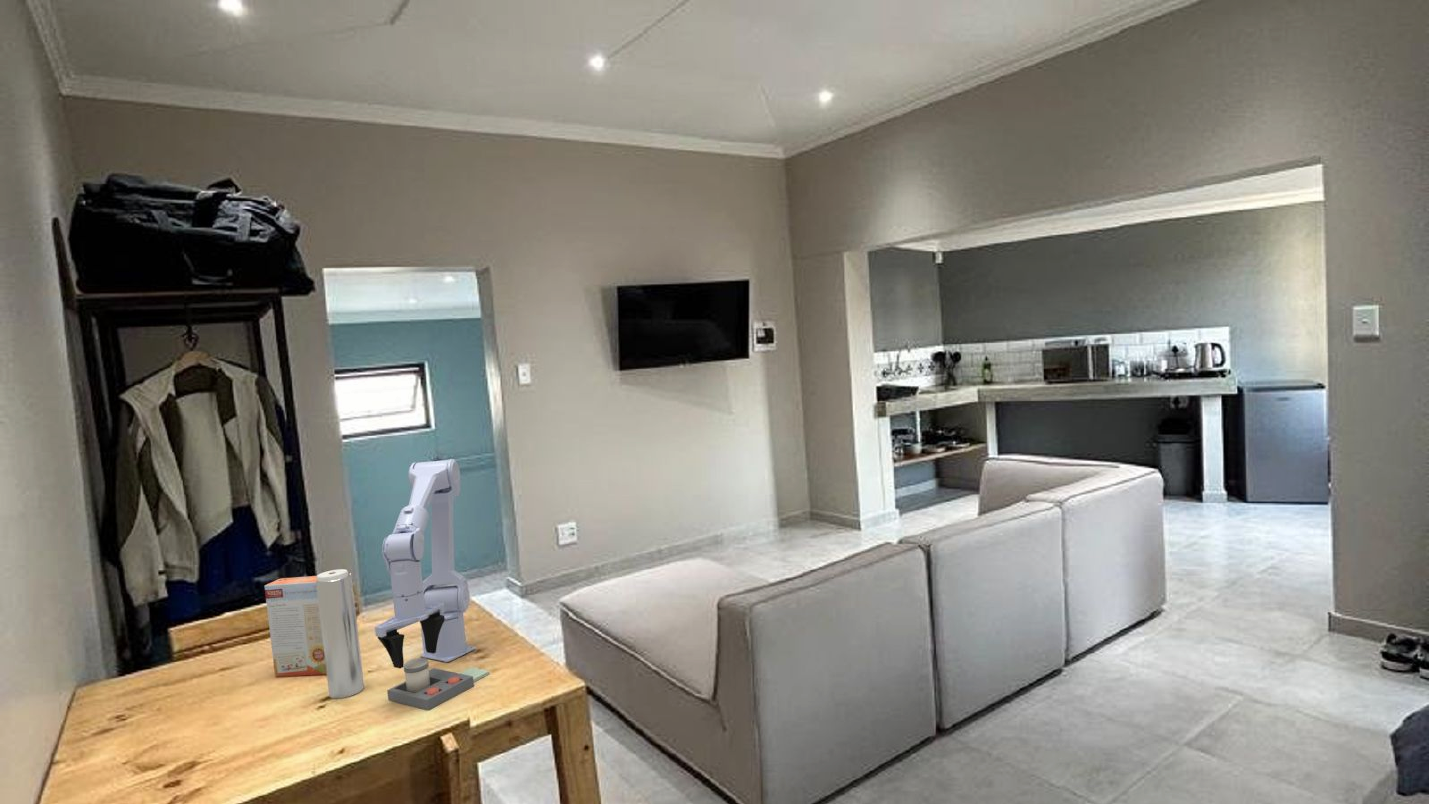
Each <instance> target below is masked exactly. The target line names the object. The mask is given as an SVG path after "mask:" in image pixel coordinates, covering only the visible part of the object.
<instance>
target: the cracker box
mask: <svg viewBox="0 0 1429 804" xmlns="http://www.w3.org/2000/svg"><path fill="white" fill-rule="evenodd" d="M316 581H317V575H312V576H311V575H310V576H297V577H296V576H295V577H284V578H283V577H281V578H278V579H276V580H274V581H272V582H269V583H267V584H265V585H264V586H263V587H264V593H265V594H264V595H265V602H266V603H265V604H266V610H267V618H268V627H269V635H270V637H269V638H270V642H271V652H272V659H273V668H274V676H275V677H276V678H279V677H281V678H283V677H298V676H314V675H317V676H319V675H320V676H321V675H327V672H326V664H325V655H324V647H323V638H322V630H321V621H320V612H319V604H318V595H317V587H316Z"/></svg>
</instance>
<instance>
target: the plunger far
mask: <svg viewBox="0 0 1429 804" xmlns="http://www.w3.org/2000/svg"><path fill="white" fill-rule="evenodd" d="M459 681H460V678H459V677H458V676H454V677H451V678H449V679H448V684H452V685H453V684H455V683H457V682H459Z"/></svg>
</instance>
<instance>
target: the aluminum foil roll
mask: <svg viewBox="0 0 1429 804" xmlns="http://www.w3.org/2000/svg"><path fill="white" fill-rule="evenodd" d="M316 576H317V581H316V587H317V595H318V604H319V612H320V621H321V630H322V638H323V647H324V655H325V664H326V672H327V674H326V681H327V687H328V697H330V698H331V699H337V700H338V698H339V699H346V698H349V696H350V697H352V696H351V695H353V696H354V694H355V695H357V694H359V693H360V692H362V691H363V690H364V688H365V683H364V681H365V680H364V674H363V666H362V656H361V647H360V638H359V629H358V623H357V621H358V620H357V610H356V603H355V594H354V587H353V577H352V573H351V572H348V570H347V569H346V568H345V569H343V568H341V569H332V570H328V571H327V570H326V571H324V572H321V573H319V574H317V575H316ZM345 697H346V698H345Z"/></svg>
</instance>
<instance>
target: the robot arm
mask: <svg viewBox="0 0 1429 804" xmlns="http://www.w3.org/2000/svg"><path fill="white" fill-rule="evenodd" d="M408 481H409V484H410V486H411V487H410V488H411V493H410V498H409V502H408V505H406V506H404V507H403V508H402V509H401V510H400V513H399V514H398V518H397V521H396V523H395V525H394V528H393V531H392V533H390V534H389V535H388V536H386V537H385V538H384V539H383V542H382V548H381V549H382V550H381V551H382V552H381V554H382V558H383V561H384V564H385V565H386V571H387V573H388V574H389V575H390V585H391V586H390V587H391V593H392V601H393V602H392V603H393V612H394V616H392V617H391V618H389V619H387V620H385V621H384V622H382V623H380V624H378V625H375V626H374V632H375V633H374V634H375V637H377V639H378V640H379V642H380V643H381V644H382V645H383V647H384V648H385V650H386V651H387V654H388V655H389V658H390V660H391V663H392V665H393V668H395V669H404V664H405V661H404V640H405V636H406V635H405V634H401V633H400V631H399V630H400V629H404V628H405V627H408V626H411V625H413V624H416V623H418V622H419V623H420V626H421V627H420V632H421V641H422V648H423V649H422V651H423V653H421V654H420V658H427V659H431V660H434V661H440V662H445V663H449V662H452V661H454V660H456V659H457V658H460V657H462V656H463V655H464V656H465V655H466V654H468V653H470V652H473V651H474V650H476V646H472V645H467V638H466V629H465V628H466V627H465V620H464V619H465V618H464V613H466V612H467V610H468V609H469V608H470V607H469V606H470V602H471V600H470V599H471V598H470V591H469V587H468V580H467V578H466V576H464V575H462V574H461V573H459V572H458V571H456V570H455V541H454V534H455V533H454V499H455V498H456V497H458V496H459V495H460V493H461V470H460V468H459V464H458V461H456V459H454V458H450V459H446V460H445V459H442V460H435V461H433V460H432V461H423V462H420V461H419V462H418V461H415V462H413V463H411V465H410V467H409V468H408ZM429 505H430V515H429V512H428V511H427V509H428V508H429ZM429 519H430V523H431V524H430V526H431V527H430V531H431V532H430V534H431V574H430V575H428V576H427V577H426V578H425V579H424V580H423V574H422V564H421V563H422V562H421V560H422V558H423V556H424V551H425V536H424V534H425V530H426V528H427V525H428V522H429ZM448 584H451V585H448ZM453 584H454V585H453ZM438 585H445V586H438Z"/></svg>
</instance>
